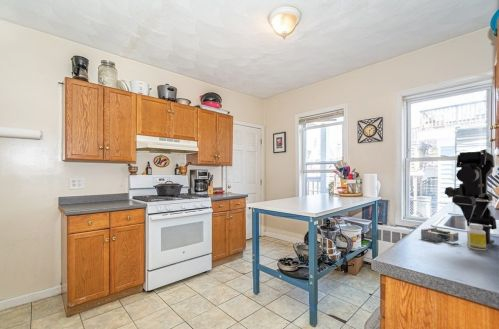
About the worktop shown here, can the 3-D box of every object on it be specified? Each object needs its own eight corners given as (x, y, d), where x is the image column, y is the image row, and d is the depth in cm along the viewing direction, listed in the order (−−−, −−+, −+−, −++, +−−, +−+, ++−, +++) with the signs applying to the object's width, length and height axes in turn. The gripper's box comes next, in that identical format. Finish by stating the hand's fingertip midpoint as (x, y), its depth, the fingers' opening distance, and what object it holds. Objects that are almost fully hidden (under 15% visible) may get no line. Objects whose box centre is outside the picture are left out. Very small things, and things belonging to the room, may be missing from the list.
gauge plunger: (437, 235, 109) (437, 228, 109) (458, 240, 101) (458, 232, 101) (432, 237, 107) (431, 229, 107) (453, 241, 100) (452, 233, 100)
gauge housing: (433, 235, 113) (433, 227, 113) (450, 239, 106) (450, 230, 106) (421, 238, 108) (420, 229, 109) (437, 242, 102) (437, 233, 102)
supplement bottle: (490, 251, 91) (489, 226, 91) (474, 250, 92) (473, 225, 92) (479, 246, 96) (478, 223, 96) (464, 246, 97) (463, 222, 97)
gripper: (458, 179, 106) (460, 213, 106) (436, 181, 98) (437, 218, 98) (492, 180, 96) (493, 218, 96) (470, 182, 88) (472, 223, 88)
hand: (473, 219), depth 94 cm, fingers open, 9 cm apart
